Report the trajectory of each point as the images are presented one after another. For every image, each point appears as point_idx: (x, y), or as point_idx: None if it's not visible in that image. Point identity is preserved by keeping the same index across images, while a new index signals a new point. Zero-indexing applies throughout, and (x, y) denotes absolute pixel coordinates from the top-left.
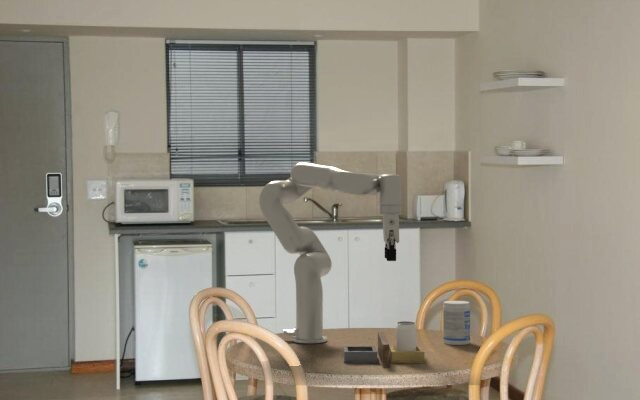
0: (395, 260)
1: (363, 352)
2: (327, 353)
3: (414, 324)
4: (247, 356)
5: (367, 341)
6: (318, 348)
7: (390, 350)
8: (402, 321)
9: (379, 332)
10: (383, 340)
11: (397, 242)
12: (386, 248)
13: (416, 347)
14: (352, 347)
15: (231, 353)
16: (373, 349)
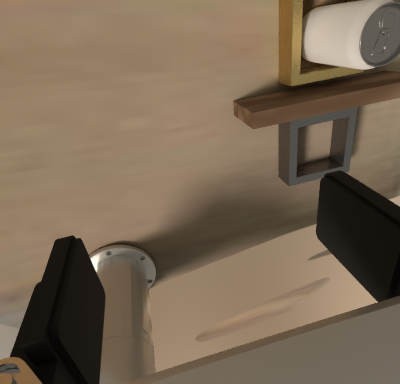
0: (337, 174)
1: (353, 135)
2: (246, 210)
3: (395, 3)
4: (275, 301)
5: (81, 163)
6: (197, 237)
7: (328, 78)
8: (361, 51)
9: (261, 123)
10: (375, 97)
11: (277, 334)
12: (95, 376)
13: (301, 4)
14: (295, 167)
15: (253, 324)
16: (331, 118)
